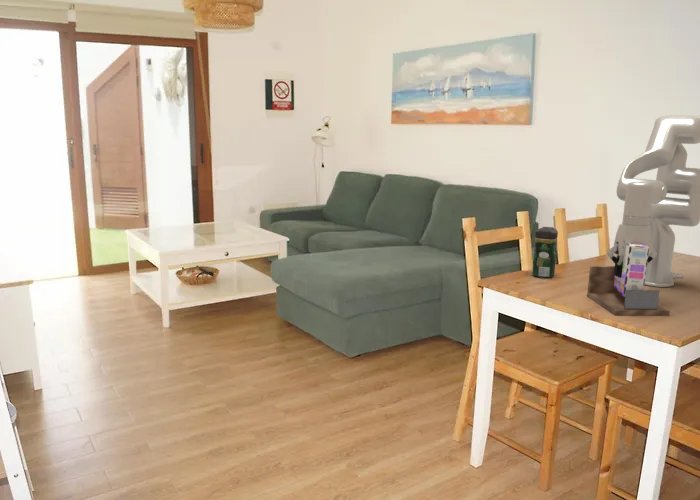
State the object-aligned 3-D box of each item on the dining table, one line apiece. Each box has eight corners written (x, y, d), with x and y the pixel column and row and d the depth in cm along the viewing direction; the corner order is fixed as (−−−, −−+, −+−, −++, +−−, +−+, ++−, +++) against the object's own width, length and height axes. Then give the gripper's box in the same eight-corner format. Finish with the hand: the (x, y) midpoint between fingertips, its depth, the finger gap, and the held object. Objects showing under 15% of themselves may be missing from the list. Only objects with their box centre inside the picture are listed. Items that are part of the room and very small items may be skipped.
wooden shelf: (636, 296, 201) (640, 266, 198) (669, 315, 181) (674, 282, 179) (587, 296, 200) (590, 265, 198) (614, 315, 181) (618, 282, 178)
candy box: (643, 298, 183) (650, 246, 179) (622, 297, 184) (629, 245, 180) (631, 287, 196) (637, 238, 192) (612, 285, 197) (618, 237, 193)
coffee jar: (534, 271, 232) (538, 224, 228) (555, 273, 229) (559, 226, 225) (529, 276, 224) (533, 228, 220) (551, 279, 220) (556, 230, 216)
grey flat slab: (655, 308, 182) (658, 290, 181) (657, 309, 182) (659, 290, 180) (623, 308, 182) (626, 290, 181) (625, 309, 181) (627, 290, 180)
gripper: (656, 219, 189) (649, 273, 193) (603, 218, 188) (597, 273, 192) (669, 223, 182) (662, 279, 185) (614, 222, 181) (607, 279, 185)
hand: (629, 276), depth 189 cm, fingers closed on candy box, 6 cm apart
